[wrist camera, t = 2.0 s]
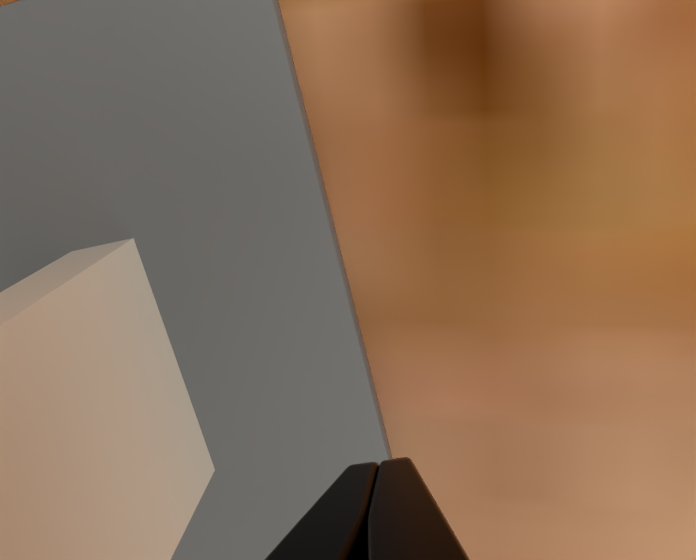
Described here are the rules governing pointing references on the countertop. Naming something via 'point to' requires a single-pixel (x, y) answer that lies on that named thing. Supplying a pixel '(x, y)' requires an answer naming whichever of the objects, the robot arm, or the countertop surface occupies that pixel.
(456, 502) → the countertop surface
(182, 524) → the tile
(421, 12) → the countertop surface
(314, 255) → the mat
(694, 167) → the countertop surface
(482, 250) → the countertop surface
